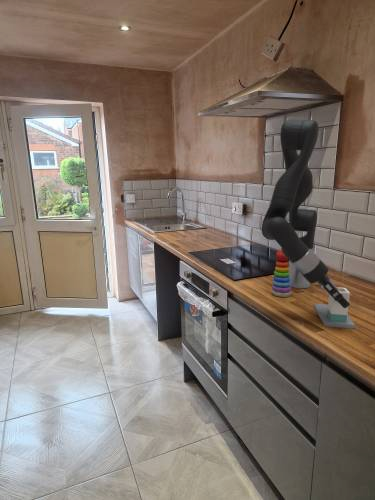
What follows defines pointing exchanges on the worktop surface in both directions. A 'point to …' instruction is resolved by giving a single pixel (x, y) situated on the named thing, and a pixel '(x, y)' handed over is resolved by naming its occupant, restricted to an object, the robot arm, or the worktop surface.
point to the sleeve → (338, 307)
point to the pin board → (326, 321)
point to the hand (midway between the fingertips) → (342, 301)
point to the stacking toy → (281, 277)
